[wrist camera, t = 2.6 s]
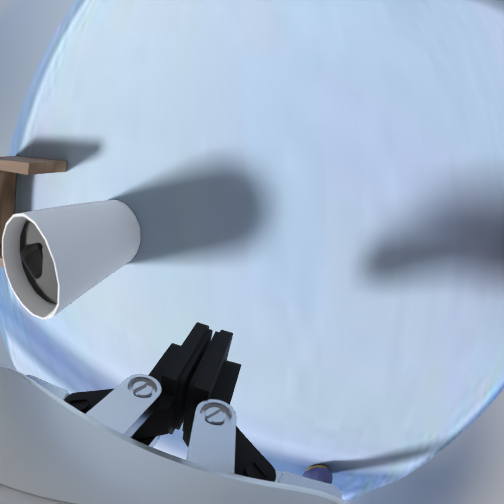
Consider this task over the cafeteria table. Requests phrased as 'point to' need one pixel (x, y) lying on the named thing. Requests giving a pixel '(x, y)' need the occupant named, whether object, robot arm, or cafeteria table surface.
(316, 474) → the rubber mallet
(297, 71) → the cafeteria table surface
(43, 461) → the robot arm
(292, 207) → the cafeteria table surface
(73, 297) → the white paper cup
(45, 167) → the box
